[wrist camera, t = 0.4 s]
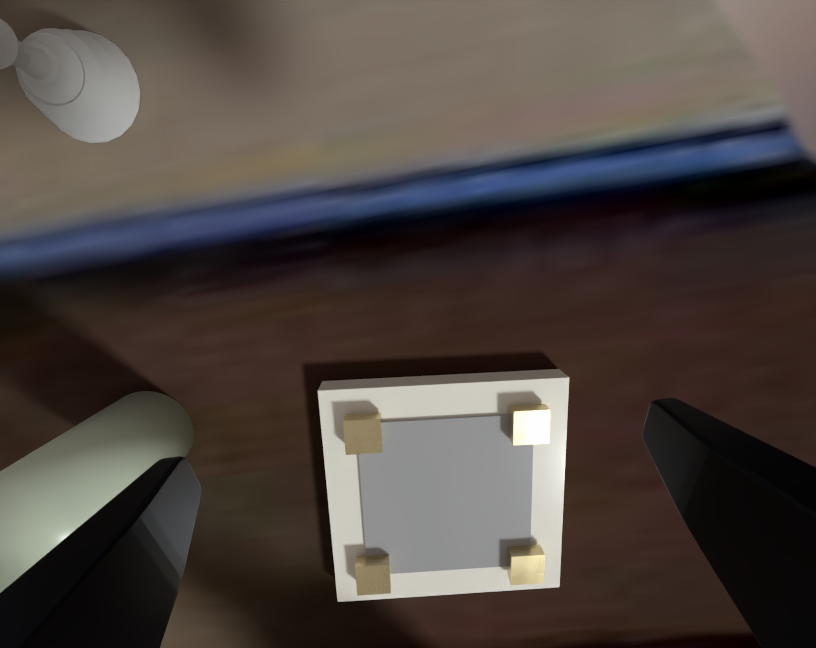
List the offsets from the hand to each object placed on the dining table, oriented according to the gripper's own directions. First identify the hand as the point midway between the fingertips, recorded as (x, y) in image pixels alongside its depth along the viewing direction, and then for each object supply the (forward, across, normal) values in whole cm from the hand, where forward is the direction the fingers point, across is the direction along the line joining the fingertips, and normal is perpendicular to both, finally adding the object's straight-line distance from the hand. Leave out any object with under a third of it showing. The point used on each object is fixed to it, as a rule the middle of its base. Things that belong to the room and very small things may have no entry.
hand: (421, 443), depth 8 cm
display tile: (+11, -1, +16) cm, 19 cm away
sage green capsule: (+13, +16, +10) cm, 23 cm away
